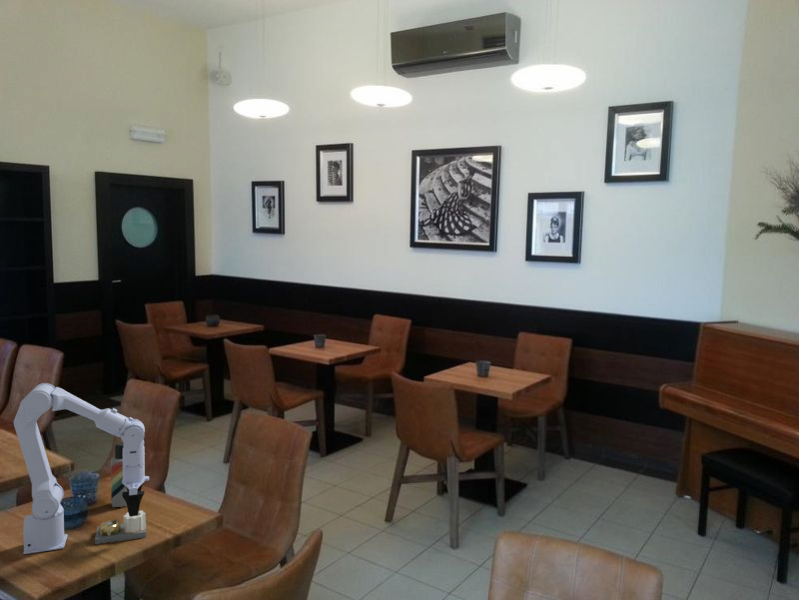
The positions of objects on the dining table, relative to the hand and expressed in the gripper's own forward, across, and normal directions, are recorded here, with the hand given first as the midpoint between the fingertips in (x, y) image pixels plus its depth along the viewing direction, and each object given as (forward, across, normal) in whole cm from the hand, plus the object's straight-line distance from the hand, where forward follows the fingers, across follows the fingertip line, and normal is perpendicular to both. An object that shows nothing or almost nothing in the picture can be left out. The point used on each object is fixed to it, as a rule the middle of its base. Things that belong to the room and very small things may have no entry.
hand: (134, 510), depth 172 cm
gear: (+5, 0, +6) cm, 8 cm away
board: (+7, 0, +3) cm, 8 cm away
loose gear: (+5, 0, 0) cm, 5 cm away
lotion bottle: (+7, +22, +4) cm, 24 cm away
